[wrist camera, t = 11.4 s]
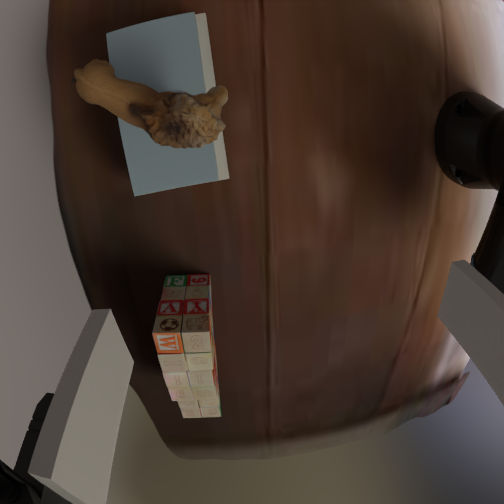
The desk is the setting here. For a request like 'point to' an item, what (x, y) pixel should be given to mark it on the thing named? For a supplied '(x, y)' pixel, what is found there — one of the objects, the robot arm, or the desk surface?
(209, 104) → the lion figurine
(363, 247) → the desk surface
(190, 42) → the two-tone layered slab
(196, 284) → the stack of blocks
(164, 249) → the desk surface
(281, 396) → the desk surface
